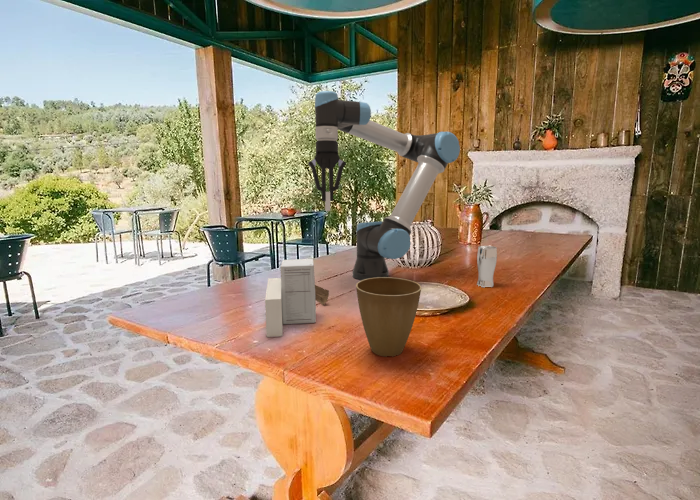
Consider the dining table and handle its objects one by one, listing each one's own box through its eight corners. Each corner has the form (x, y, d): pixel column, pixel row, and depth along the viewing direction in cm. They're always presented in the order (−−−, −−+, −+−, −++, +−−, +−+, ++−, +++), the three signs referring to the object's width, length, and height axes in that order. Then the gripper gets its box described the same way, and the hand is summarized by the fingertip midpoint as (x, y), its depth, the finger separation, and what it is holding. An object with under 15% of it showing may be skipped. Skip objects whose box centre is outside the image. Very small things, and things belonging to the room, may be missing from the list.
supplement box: (315, 312, 117) (314, 258, 114) (316, 323, 108) (315, 264, 105) (283, 313, 116) (282, 259, 113) (281, 324, 107) (279, 265, 104)
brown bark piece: (299, 295, 135) (299, 281, 134) (304, 294, 136) (304, 280, 136) (324, 306, 123) (324, 291, 122) (329, 305, 125) (329, 290, 124)
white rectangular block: (282, 308, 121) (281, 277, 119) (282, 336, 99) (281, 299, 98) (269, 309, 120) (268, 278, 118) (266, 337, 99) (265, 299, 97)
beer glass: (496, 284, 148) (498, 246, 146) (492, 289, 142) (495, 249, 140) (477, 282, 152) (480, 244, 149) (473, 286, 146) (475, 247, 143)
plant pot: (343, 354, 89) (343, 287, 86) (375, 333, 101) (376, 274, 98) (401, 371, 81) (403, 298, 78) (429, 346, 93) (431, 282, 90)
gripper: (308, 139, 125) (309, 211, 129) (347, 139, 127) (347, 211, 131) (306, 141, 132) (308, 210, 136) (344, 142, 134) (344, 209, 139)
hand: (327, 210), depth 134 cm, fingers closed
